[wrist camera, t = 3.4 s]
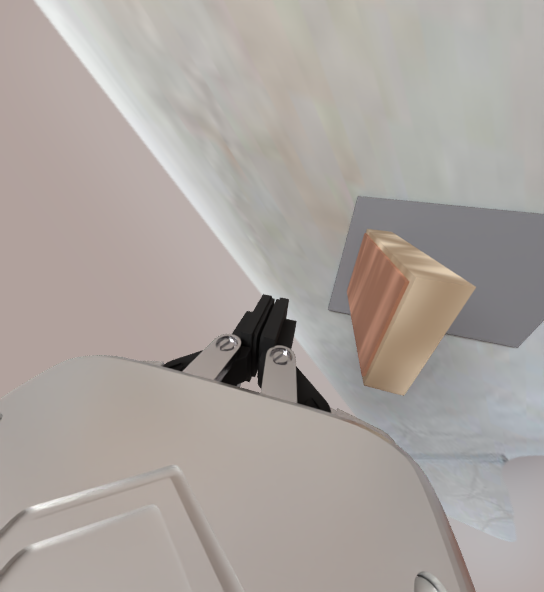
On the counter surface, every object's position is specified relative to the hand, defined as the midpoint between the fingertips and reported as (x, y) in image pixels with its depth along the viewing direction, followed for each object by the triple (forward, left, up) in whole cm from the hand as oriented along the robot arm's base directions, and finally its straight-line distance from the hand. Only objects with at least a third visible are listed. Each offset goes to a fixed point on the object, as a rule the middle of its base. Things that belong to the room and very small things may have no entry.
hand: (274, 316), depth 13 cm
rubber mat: (-16, 0, -14) cm, 21 cm away
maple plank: (-8, 0, -14) cm, 16 cm away
